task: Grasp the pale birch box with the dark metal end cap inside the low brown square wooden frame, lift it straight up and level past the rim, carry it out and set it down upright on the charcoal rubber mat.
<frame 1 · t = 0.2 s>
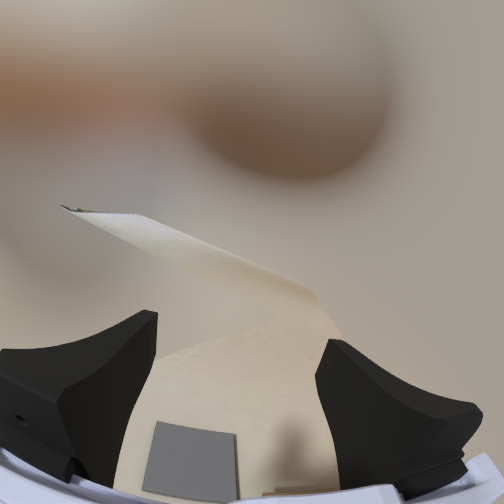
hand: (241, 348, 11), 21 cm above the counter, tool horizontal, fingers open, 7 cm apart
mat: (191, 462, 23), on the counter
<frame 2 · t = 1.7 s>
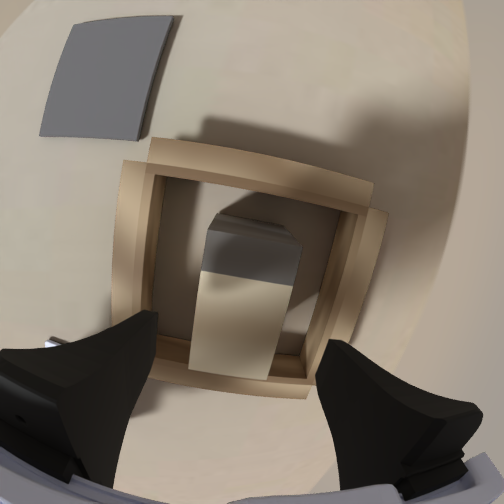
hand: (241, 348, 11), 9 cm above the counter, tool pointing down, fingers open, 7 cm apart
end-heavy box: (239, 292, 17), in the square wooden frame
mat: (100, 74, 15), on the counter
square wooden frame: (239, 275, 20), on the counter
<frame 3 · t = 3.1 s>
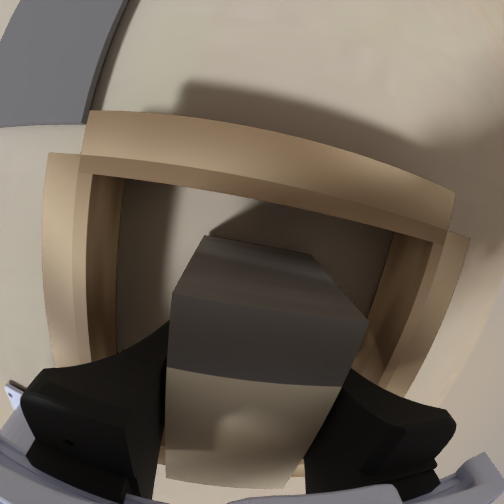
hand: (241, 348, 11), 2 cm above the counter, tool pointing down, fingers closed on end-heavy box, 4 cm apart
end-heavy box: (241, 369, 10), in the square wooden frame, touching gripper
mat: (47, 39, 8), on the counter
square wooden frame: (240, 329, 13), on the counter
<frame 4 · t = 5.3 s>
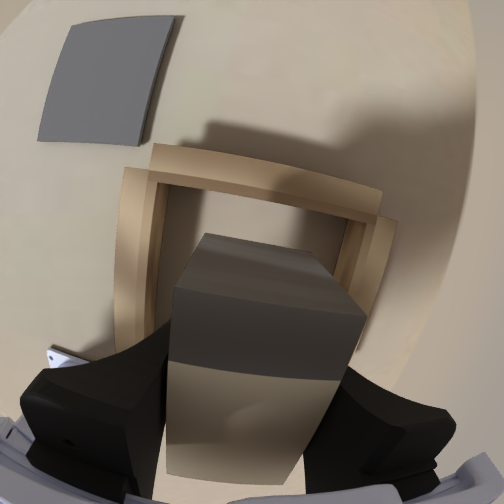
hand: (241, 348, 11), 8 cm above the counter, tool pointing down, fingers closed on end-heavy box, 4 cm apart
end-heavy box: (242, 365, 10), point 10 cm above the counter, touching gripper
mat: (100, 76, 15), on the counter
square wooden frame: (244, 284, 19), on the counter
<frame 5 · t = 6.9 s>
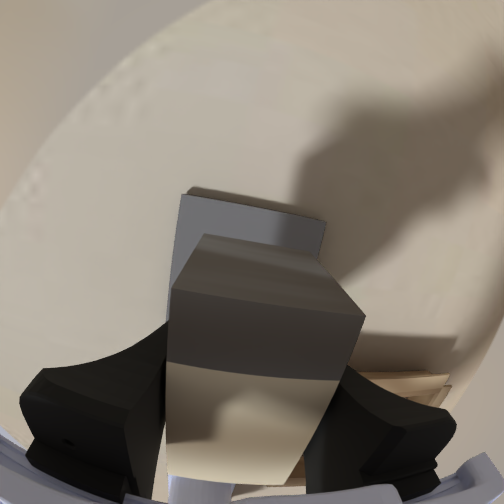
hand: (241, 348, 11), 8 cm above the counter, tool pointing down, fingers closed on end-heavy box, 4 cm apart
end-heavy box: (241, 365, 10), point 9 cm above the counter, touching gripper
mat: (239, 282, 19), on the counter
square wooden frame: (348, 422, 23), on the counter
when the fingers open (4 cm above the counter, at t = 8.0 s): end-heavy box drops 1 cm, resting on mat.
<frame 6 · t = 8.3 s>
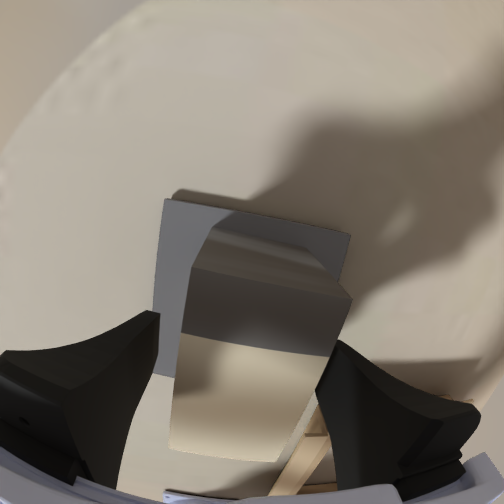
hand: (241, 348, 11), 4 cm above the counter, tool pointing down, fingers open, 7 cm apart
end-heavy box: (241, 346, 11), on the mat
mat: (240, 310, 15), on the counter
square wooden frame: (360, 452, 19), on the counter
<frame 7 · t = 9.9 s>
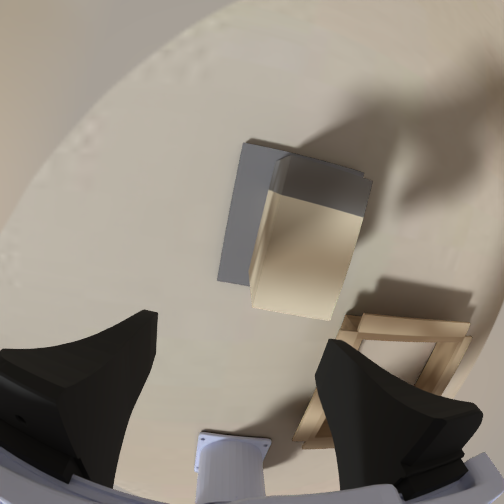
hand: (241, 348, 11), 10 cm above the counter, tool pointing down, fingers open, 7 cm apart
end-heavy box: (301, 233, 17), on the mat
mat: (290, 224, 21), on the counter
square wooden frame: (379, 376, 25), on the counter
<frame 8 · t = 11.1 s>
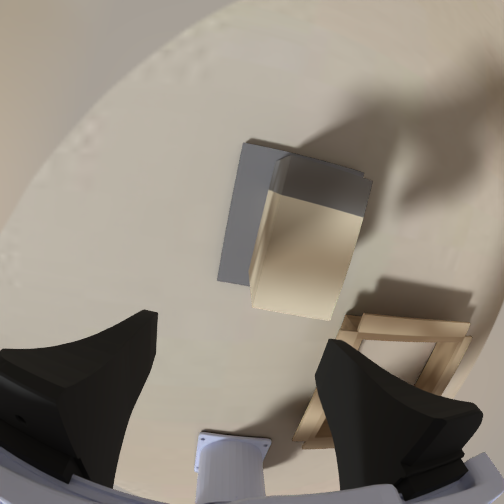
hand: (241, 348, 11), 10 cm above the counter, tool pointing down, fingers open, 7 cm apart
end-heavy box: (301, 233, 17), on the mat
mat: (290, 224, 21), on the counter
square wooden frame: (379, 376, 25), on the counter
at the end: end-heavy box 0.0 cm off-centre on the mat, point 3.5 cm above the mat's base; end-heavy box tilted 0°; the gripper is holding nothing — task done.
